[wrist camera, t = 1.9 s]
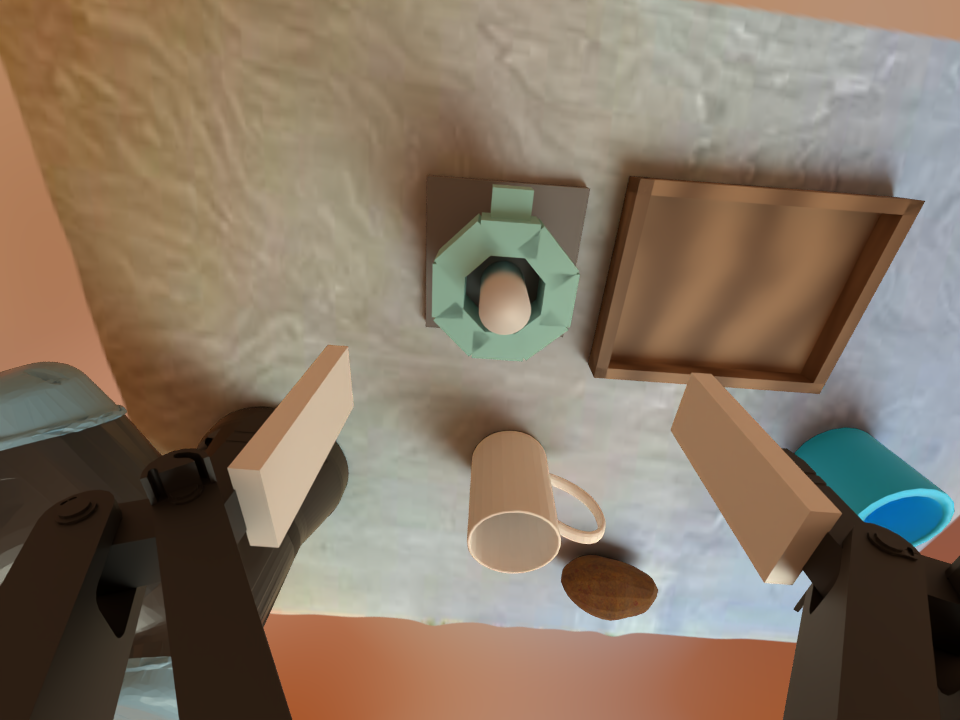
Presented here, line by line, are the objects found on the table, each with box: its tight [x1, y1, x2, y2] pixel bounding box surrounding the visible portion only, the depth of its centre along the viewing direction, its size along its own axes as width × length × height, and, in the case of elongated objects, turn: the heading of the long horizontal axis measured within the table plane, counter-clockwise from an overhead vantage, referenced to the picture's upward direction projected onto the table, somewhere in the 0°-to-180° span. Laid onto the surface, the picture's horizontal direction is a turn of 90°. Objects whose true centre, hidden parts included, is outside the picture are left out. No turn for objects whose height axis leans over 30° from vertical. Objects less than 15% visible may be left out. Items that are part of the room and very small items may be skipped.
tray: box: [588, 176, 925, 394], centre depth 33 cm, size 20×16×2 cm
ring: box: [432, 184, 580, 361], centre depth 27 cm, size 9×11×3 cm
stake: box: [426, 175, 590, 337], centre depth 29 cm, size 12×12×12 cm
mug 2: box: [795, 428, 954, 547], centre depth 40 cm, size 12×8×8 cm
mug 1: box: [467, 431, 606, 573], centre depth 39 cm, size 12×8×10 cm, turn 88°
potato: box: [561, 555, 658, 621], centre depth 48 cm, size 7×12×7 cm, turn 83°
